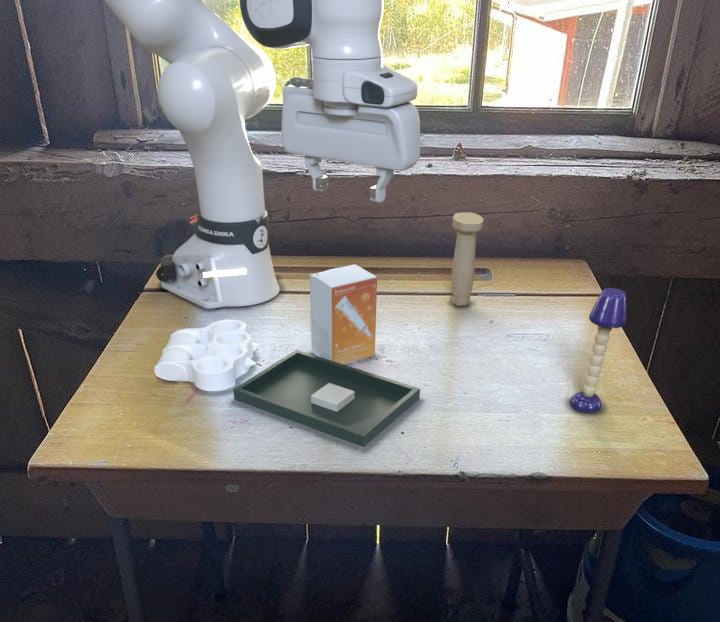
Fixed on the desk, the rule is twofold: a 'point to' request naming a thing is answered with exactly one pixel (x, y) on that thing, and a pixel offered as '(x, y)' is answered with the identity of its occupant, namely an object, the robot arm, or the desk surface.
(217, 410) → the desk surface
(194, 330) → the white brass knuckles
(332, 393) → the chalk block
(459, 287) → the handle
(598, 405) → the toy lamp
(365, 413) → the tray
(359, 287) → the small box
